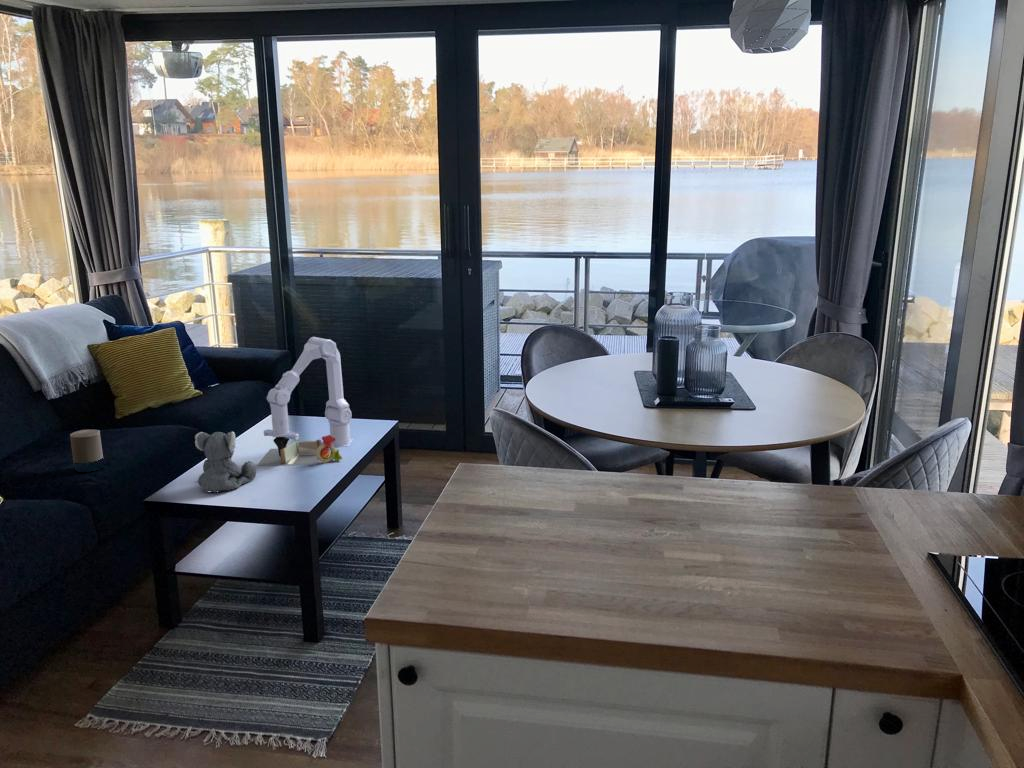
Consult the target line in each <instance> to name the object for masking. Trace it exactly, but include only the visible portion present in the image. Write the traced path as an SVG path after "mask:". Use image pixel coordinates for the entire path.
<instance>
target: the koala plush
mask: <svg viewBox="0 0 1024 768" xmlns="http://www.w3.org/2000/svg"><path fill="white" fill-rule="evenodd" d="M194 439H195V441H194V443H195V447H196V449H197V450H200V451H201V452H204V455H205V457H206V459H205V460H204V461H203V465H202V470H203V473H201V474H200V475H199V477H198V481H197V484H198V485H199V486H200V487H201V488H202V489H203V491H204V492H206V491H211V492H210V493H212V492H215V493H216V492H217V491H219V492H222V491H225V490H228V491H229V490H230V491H231V489H232V490H236V489H235V488H237V489H239V488H240V487H241V486H242V484H243V485H245V484H248V483H251V481H253V480H254V479H255V478H256V476H257V469H256V466H255V462H254V461H252V460H248V461H245V462H244V463H243V464H242V465H241V467H240V466H239V465H238V464H237V463H236V462H235V461H233V460H232V458H233V455H234V452H235V449H237V447H236V441H237V439H236V433H235V432H234V431H230V432H227V433H225V432H221V431H215V432H213V433H210V434H208V433H207V432H203V431H200V432H198V433H196V434H195V435H194ZM247 482H248V483H247ZM217 493H218V492H217Z"/></svg>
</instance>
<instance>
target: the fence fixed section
mask: <svg viewBox="0 0 1024 768" xmlns="http://www.w3.org/2000/svg"><path fill="white" fill-rule="evenodd" d="M321 444H322V439H316V440H300V441H298V448H299V454H316V451H317V448H318V447H319V446H320V445H321Z"/></svg>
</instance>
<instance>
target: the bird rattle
mask: <svg viewBox="0 0 1024 768" xmlns="http://www.w3.org/2000/svg"><path fill="white" fill-rule="evenodd" d="M335 440H336V439H335V438H333V437H332V436H331V435H330V434H328V435H323V436H322V437H321V441H323V443H321V445H320V446H319V447H318V448H317V451H316V456H317V458H318V459H319V462H321V464H326V463H329V462H332V460H334V461H335V462H339V461H340V460H342V459H343V457H342V455H340V449H336V447H334V446H333V445H332V444H331V443H333V442H334V441H335ZM323 448H324V449H323Z"/></svg>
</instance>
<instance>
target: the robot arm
mask: <svg viewBox="0 0 1024 768" xmlns="http://www.w3.org/2000/svg"><path fill="white" fill-rule="evenodd" d="M321 358H322V359H323V360H325V367H326V377H327V378H326V379H327V386H328V400H327V401H326V403H325V411H324V416H325V418H326V419H327V420H328V423H329V432H330V433H329V435H331V436H332V437H333V438H335V439H336V440H335V441H334V442H333V443H331V444H332V445H333V446H334V448H340V447H341V448H342V447H343V448H345V447H350V445H351V443H352V441H353V439H354V438H351V430H350V429H351V427H350V421H351V420H352V411H351V409H350V404H349V403H348V402H347V400H346V399H345V398H344V385H343V384H344V383H343V375H342V372H343V371H342V364H341V363H342V362H341V353H340V351H339V349H338V347H337V343H336V342H335V341H333V340H332V339H327V338H322V337H318V336H317V337H316V336H312V337H310V338H309V339H308V340H307V342H306V343H305V344H304V347H303V351H302V353H301V354H300V356H299V357H298V359H297V361H296V362H295V364H294V365H293V367H292V368H291V370H288V371H286V372H283V374H282V377H281V379H280V380H279V381H278V383H277V384H275V386H274V387H273V388H271V389H270V390H269V391H268V393H267V396H266V400H267V402H268V404H269V407H270V413H271V424H272V429H264V430H263V436H264V437H267V436H269V437H273V438H274V439H273V440H272V441H273V442H274V444H275V445H276V448H277V449H278V451H279V456H280V457H281V453H280V450H281V449H284V448H285V447H287V446H288V443H289V440H291V439H292V440H293V441H295V440H297V441H298V440H299V439H300V434H299V433H297V432H294V431H291V430H290V427H289V426H290V425H289V412H288V403H289V402H290V400H291V395H292V392H293V391H294V389H295V388H296V386H297V385H298V384H299V382H300V375H301V374H302V373H303V372H304V371H305V369H306V368H307V367H308V366H309V365H310V363H311V362H312V361H313V360H317V359H321Z"/></svg>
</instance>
